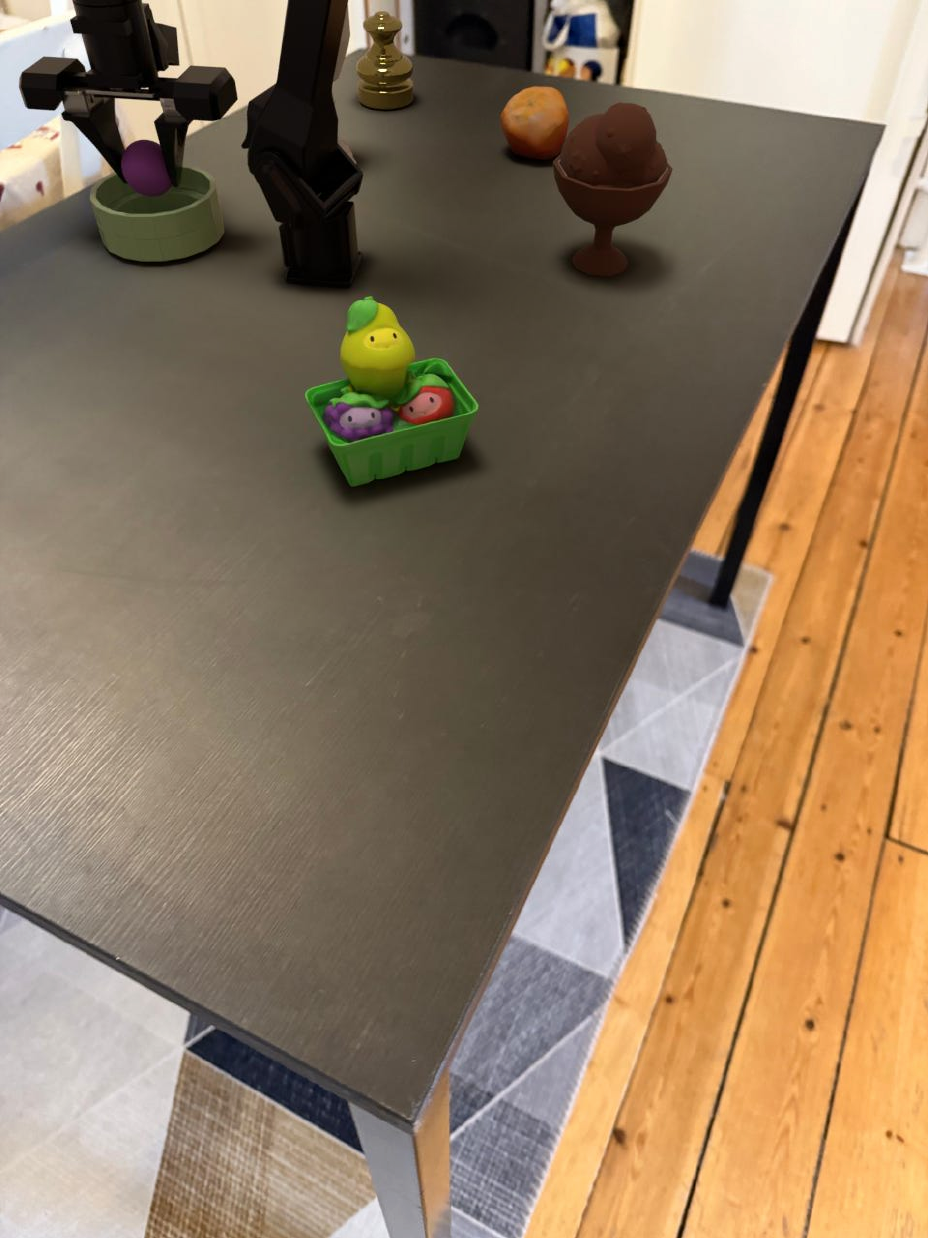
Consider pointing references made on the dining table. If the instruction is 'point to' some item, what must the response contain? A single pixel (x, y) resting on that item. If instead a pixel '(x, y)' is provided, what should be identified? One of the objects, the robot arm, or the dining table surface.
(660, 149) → the ice cream bowl
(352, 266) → the robot arm
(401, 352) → the fruit basket
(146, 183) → the ball
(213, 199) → the green bowl
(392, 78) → the gold chess piece
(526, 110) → the fruit
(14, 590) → the dining table surface
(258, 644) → the dining table surface
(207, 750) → the dining table surface
